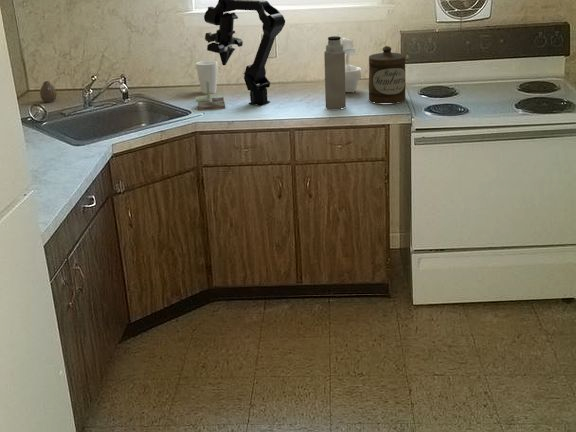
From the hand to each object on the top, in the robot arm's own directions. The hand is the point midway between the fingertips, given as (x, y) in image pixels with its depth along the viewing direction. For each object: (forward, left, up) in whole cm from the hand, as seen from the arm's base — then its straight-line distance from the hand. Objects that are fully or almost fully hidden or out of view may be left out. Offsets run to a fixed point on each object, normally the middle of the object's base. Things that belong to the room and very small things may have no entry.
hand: (223, 65), depth 338 cm
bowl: (-1, +15, -14) cm, 21 cm away
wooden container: (-63, -26, -15) cm, 70 cm away
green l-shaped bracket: (-1, +16, -11) cm, 19 cm away
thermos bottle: (-50, -7, -15) cm, 53 cm away
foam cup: (+15, -6, -15) cm, 22 cm away
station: (-3, +14, -14) cm, 20 cm away
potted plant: (-41, -32, -15) cm, 54 cm away
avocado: (+69, +38, -15) cm, 80 cm away
